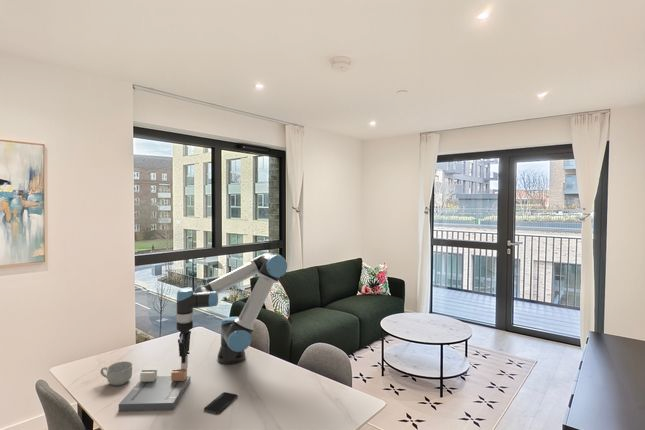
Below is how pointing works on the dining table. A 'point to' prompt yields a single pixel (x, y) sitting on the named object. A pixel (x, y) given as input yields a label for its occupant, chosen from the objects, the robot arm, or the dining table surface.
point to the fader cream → (148, 375)
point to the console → (154, 395)
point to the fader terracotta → (179, 374)
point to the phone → (220, 403)
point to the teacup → (118, 373)
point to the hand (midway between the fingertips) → (184, 368)
